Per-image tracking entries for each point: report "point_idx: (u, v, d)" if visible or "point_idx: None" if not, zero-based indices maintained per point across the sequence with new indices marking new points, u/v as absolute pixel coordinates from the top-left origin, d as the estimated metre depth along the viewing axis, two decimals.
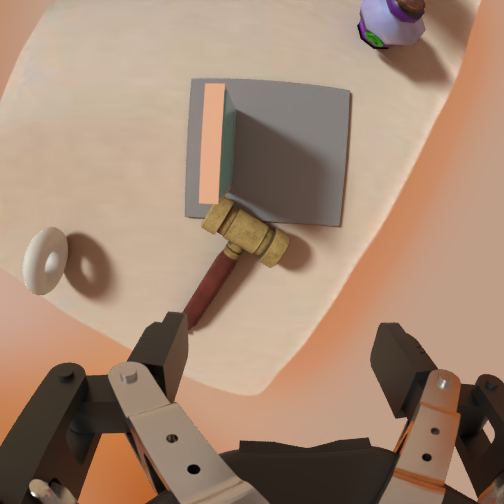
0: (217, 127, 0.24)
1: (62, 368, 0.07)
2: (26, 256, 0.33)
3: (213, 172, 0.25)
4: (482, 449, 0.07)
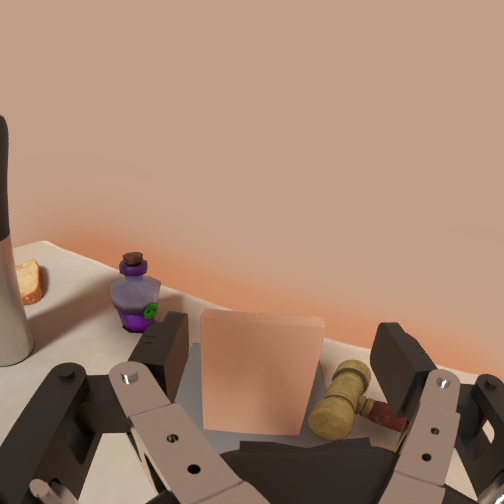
0: (248, 314, 0.26)
1: (62, 367, 0.07)
2: None
3: (293, 318, 0.25)
4: (482, 449, 0.07)
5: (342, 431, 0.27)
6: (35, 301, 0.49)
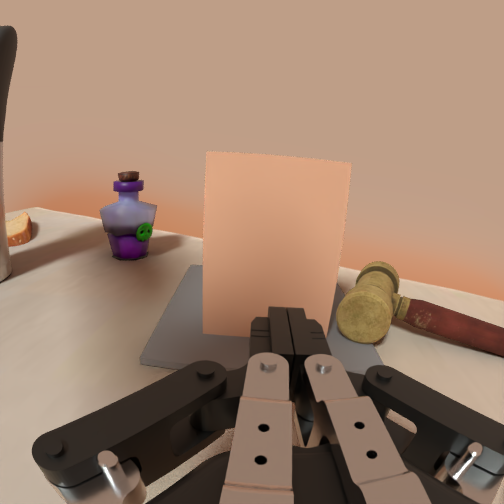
0: None
1: (204, 365, 0.08)
2: None
3: None
4: (397, 437, 0.08)
5: (381, 325, 0.23)
6: (22, 242, 0.44)
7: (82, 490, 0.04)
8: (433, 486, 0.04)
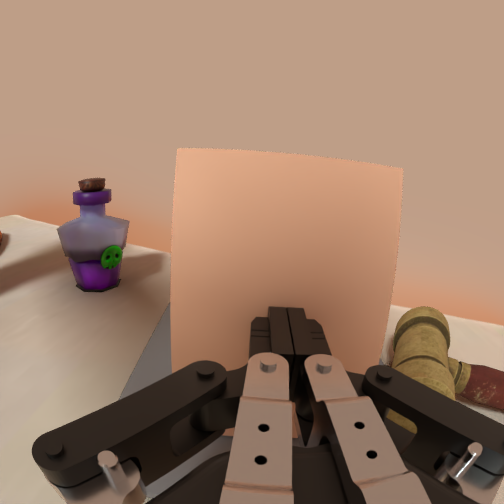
0: None
1: (204, 365, 0.08)
2: None
3: None
4: (398, 437, 0.08)
5: None
6: None
7: (82, 490, 0.04)
8: (433, 486, 0.04)
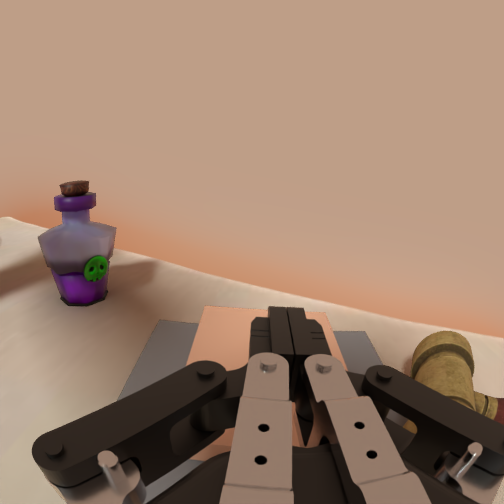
0: None
1: (204, 365, 0.08)
2: None
3: None
4: (397, 437, 0.08)
5: None
6: None
7: (82, 490, 0.04)
8: (433, 486, 0.04)
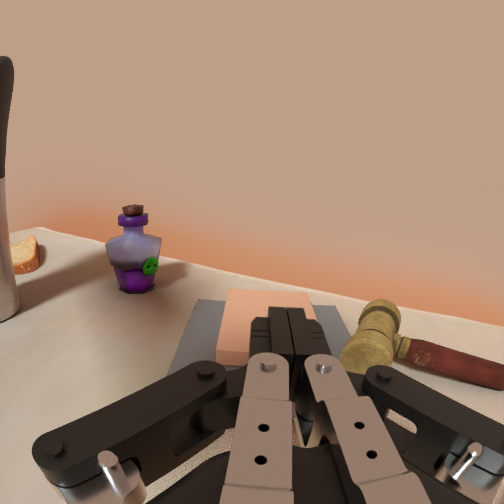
0: None
1: (204, 365, 0.08)
2: None
3: None
4: (397, 437, 0.08)
5: None
6: (30, 270, 0.46)
7: (82, 490, 0.04)
8: (433, 486, 0.04)
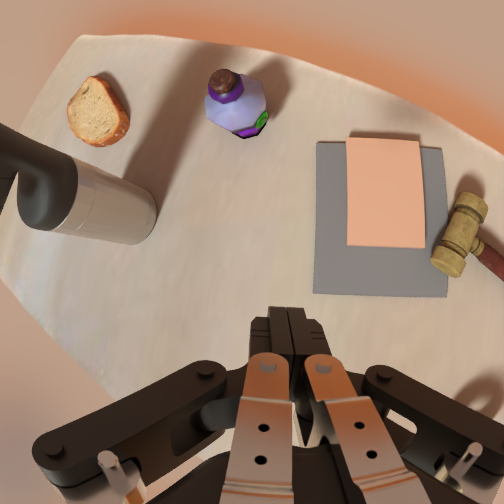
0: None
1: (204, 365, 0.08)
2: None
3: None
4: (397, 437, 0.08)
5: (453, 275, 0.33)
6: (126, 130, 0.49)
7: (82, 490, 0.04)
8: (433, 486, 0.04)
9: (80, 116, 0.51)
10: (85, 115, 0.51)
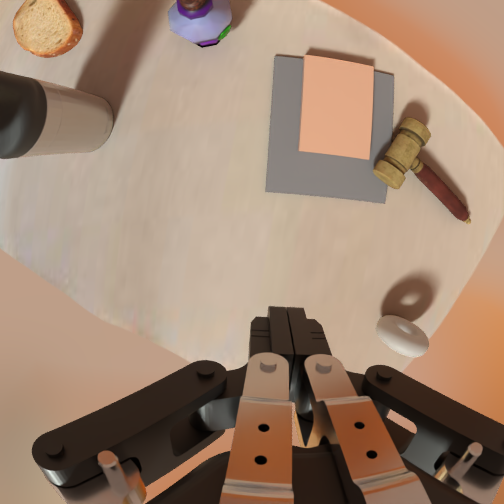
0: None
1: (204, 365, 0.08)
2: (401, 350, 0.42)
3: None
4: (397, 437, 0.08)
5: (393, 187, 0.41)
6: (79, 38, 0.36)
7: (82, 490, 0.04)
8: (433, 486, 0.04)
9: (28, 29, 0.33)
10: (33, 27, 0.33)
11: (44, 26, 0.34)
